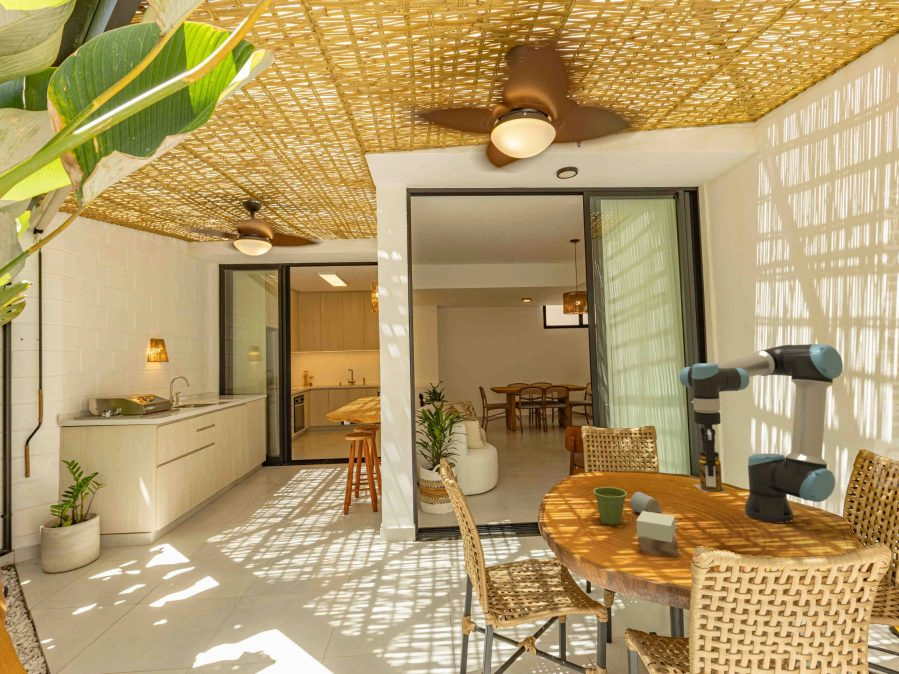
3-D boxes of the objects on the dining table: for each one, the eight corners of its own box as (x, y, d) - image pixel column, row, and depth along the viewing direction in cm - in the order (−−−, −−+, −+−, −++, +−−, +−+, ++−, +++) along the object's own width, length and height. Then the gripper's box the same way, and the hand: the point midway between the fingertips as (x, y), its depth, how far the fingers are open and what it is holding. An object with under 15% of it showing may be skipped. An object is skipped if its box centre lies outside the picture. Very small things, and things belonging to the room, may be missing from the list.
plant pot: (587, 520, 177) (586, 490, 177) (608, 514, 183) (607, 485, 184) (613, 530, 167) (612, 498, 167) (634, 523, 173) (633, 492, 174)
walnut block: (670, 544, 155) (670, 529, 155) (677, 557, 145) (677, 541, 145) (638, 542, 158) (638, 526, 158) (643, 554, 148) (642, 538, 148)
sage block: (675, 531, 153) (674, 515, 153) (671, 542, 145) (670, 526, 145) (642, 525, 158) (642, 510, 159) (637, 536, 150) (636, 520, 150)
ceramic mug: (647, 519, 177) (647, 498, 177) (630, 512, 184) (629, 492, 185) (666, 514, 182) (666, 494, 182) (648, 508, 189) (648, 489, 189)
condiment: (705, 493, 148) (703, 454, 149) (692, 485, 157) (690, 449, 157) (729, 492, 148) (727, 454, 148) (714, 484, 157) (712, 448, 157)
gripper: (691, 407, 162) (694, 474, 162) (695, 415, 145) (699, 490, 145) (716, 407, 159) (719, 476, 159) (723, 415, 142) (727, 492, 141)
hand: (710, 483), depth 152 cm, fingers closed on condiment, 6 cm apart
